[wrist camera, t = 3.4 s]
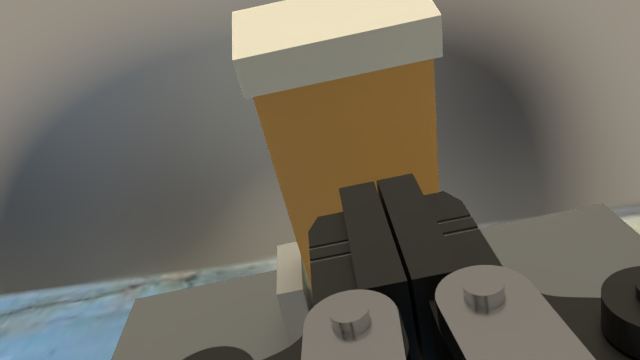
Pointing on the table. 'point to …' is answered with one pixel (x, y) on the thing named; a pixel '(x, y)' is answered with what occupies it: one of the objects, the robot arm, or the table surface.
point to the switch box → (296, 295)
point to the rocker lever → (341, 96)
